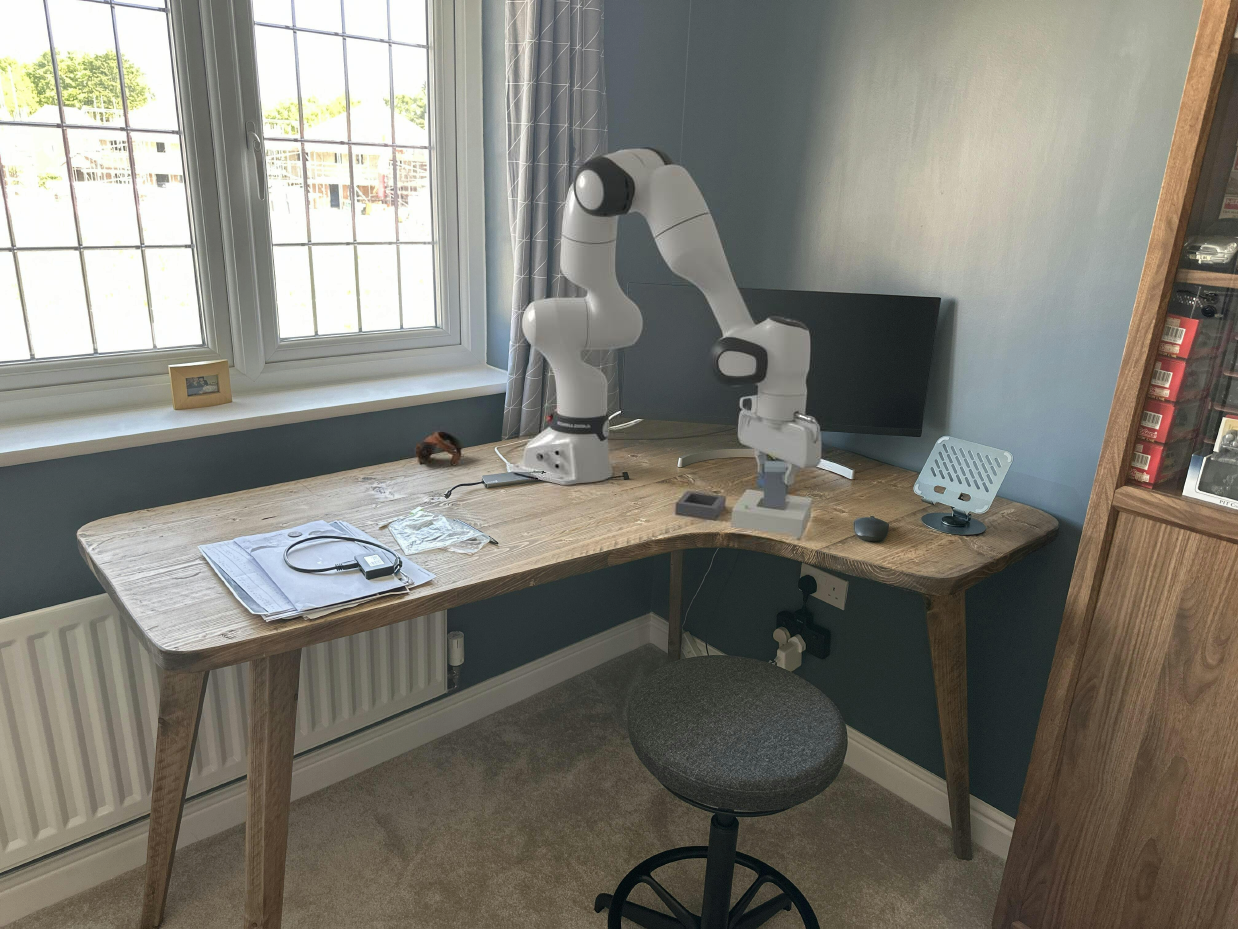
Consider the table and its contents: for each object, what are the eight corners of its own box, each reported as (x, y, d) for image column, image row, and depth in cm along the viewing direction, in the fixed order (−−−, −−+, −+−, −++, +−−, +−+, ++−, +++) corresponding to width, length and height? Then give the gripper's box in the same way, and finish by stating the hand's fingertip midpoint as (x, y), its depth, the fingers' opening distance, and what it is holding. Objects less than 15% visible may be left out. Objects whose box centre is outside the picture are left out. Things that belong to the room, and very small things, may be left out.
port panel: (730, 529, 156) (732, 507, 155) (745, 508, 168) (747, 486, 167) (800, 540, 152) (802, 517, 151) (810, 517, 164) (812, 495, 162)
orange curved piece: (430, 456, 199) (447, 427, 197) (457, 479, 196) (474, 451, 194) (397, 455, 188) (415, 425, 186) (425, 480, 185) (443, 450, 183)
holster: (675, 517, 162) (675, 502, 161) (686, 504, 169) (687, 490, 168) (715, 523, 159) (716, 508, 158) (725, 510, 166) (726, 496, 166)
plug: (763, 507, 157) (764, 466, 155) (764, 501, 161) (765, 461, 159) (785, 508, 156) (786, 467, 154) (785, 501, 160) (786, 461, 158)
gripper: (833, 417, 146) (825, 492, 150) (760, 394, 163) (755, 462, 167) (805, 420, 143) (798, 496, 147) (734, 397, 160) (729, 466, 164)
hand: (775, 478), depth 157 cm, fingers closed on plug, 6 cm apart
